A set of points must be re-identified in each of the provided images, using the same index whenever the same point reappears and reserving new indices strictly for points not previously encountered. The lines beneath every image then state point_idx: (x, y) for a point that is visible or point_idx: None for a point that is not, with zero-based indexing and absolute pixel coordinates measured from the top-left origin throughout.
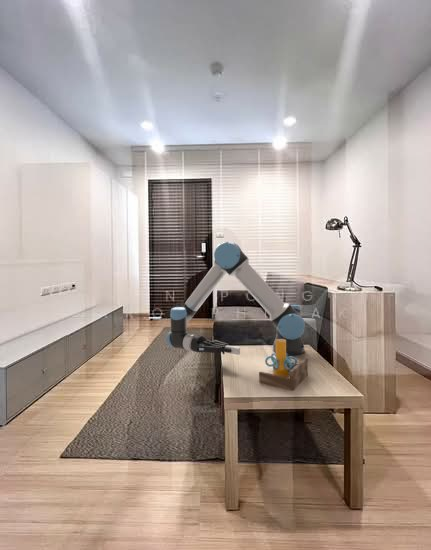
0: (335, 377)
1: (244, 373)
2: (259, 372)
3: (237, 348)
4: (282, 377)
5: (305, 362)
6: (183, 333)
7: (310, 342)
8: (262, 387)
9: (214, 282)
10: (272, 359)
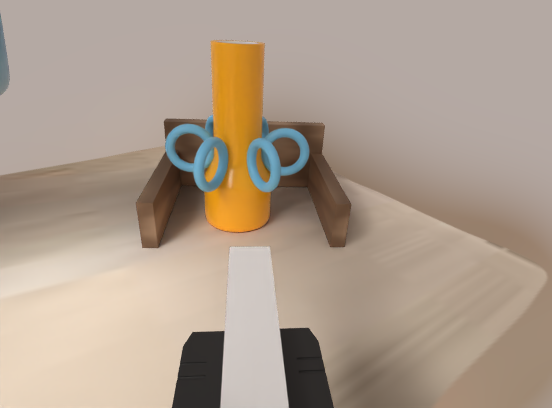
0: (155, 151)
1: None
2: (348, 203)
3: (269, 253)
4: (325, 162)
5: None
6: None
7: None
8: (368, 229)
9: None
10: (205, 179)
